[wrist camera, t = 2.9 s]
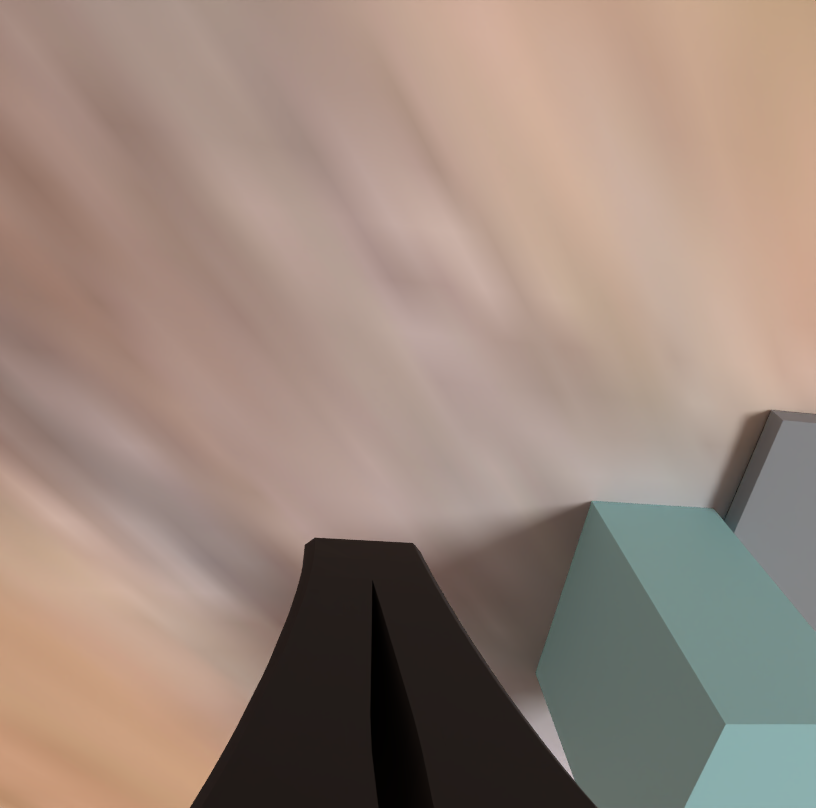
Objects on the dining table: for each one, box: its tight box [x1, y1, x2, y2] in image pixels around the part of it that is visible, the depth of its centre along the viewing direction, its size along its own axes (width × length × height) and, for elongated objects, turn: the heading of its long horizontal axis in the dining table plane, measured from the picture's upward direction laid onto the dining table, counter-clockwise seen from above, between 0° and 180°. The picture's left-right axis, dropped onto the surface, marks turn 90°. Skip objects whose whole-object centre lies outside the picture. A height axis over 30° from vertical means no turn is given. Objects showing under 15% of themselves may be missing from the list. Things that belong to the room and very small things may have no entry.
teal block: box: [536, 501, 816, 808], centre depth 21 cm, size 4×7×8 cm, turn 170°
